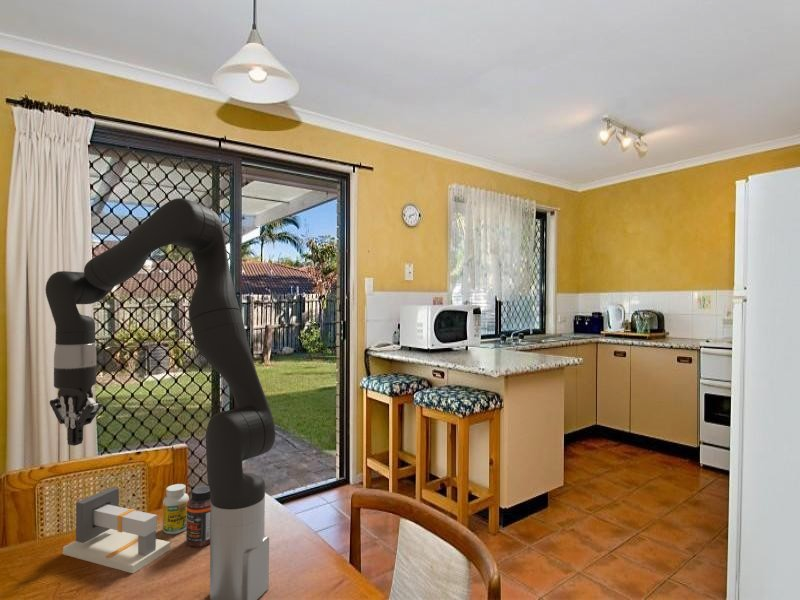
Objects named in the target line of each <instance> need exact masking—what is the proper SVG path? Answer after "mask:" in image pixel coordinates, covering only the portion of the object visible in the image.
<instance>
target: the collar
mask: <svg viewBox="0 0 800 600" xmlns="http://www.w3.org/2000/svg"><path fill="white" fill-rule="evenodd" d="M119 493H120V488H119V487H113V486H111V487H109V488H106V489H104V490H101V491H100V492H97V493H95V494H94V493H93V494H92V495H90V496H88V497H85V498H83V499H80V500H78V501H76V502H75V504H76V506H75V541H77V542H81V543H84V542H86V541H88V540H90V539H92V538H94V537H96V536H98V535H100V534H102V533H103V532H105V531H107V530H109V528H105V527H101V526H97V525H93V509H94V508H97V507H99V506H101V505H103V504H108V505H113V506H117V507H120V501H119V500H120V498H119V497H120V494H119Z"/></svg>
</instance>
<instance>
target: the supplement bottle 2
mask: <svg viewBox="0 0 800 600" xmlns="http://www.w3.org/2000/svg"><path fill="white" fill-rule="evenodd" d="M210 519H211V493H210V489H209V485H201V486H196V487H195V488H193V489H191V498H189V501H188V503H187V529H186V530H185V531H186V537H185V538H186V539H185V540H186V543H187V545H188V546H190V547H203V546H206V545H209V544H210Z"/></svg>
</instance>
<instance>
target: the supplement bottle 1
mask: <svg viewBox="0 0 800 600" xmlns="http://www.w3.org/2000/svg"><path fill="white" fill-rule="evenodd" d="M186 488H187V487H186V484H183V483H175V484H172V485H169V486H167V487H166V489H165V490H166V491H165V495H166V496H165V497H164V499H163V501H162V531H163V532H164V533H165V534H167V535H176V534H180V533H183V532H184V531H186V530H187V503H188V501H189V500H190V497H189V494H188V493H186V491H187V490H186Z"/></svg>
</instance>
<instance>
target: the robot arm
mask: <svg viewBox="0 0 800 600" xmlns="http://www.w3.org/2000/svg"><path fill="white" fill-rule="evenodd" d="M169 245H174V246H177V247H181V248H184V249H188V250H190V252H191V255H192V259H193V260H194V265H195V269H196V277H197V278H196V284H195V287H194V290H193V293H192V296H191V299H190V302H189V306H188V317H189V319H188V320H189V323H190V327H191V331H192V332H191V333H192V335H193V341H194V344H195V346H196V348H197V350H198V351H199V353H200V354H201V356H202V357H203V358H204V359H205V360H206V361H207V362H208V364H209V365H210V366H211V367H212V368H213V369H214V370H215V371H216V372H217V373H218V374H219V375H220V376H221V377H222V379H223V380H224V381H225V382H226V383H227V385H228V387H229V390H230V391H231V393H232V395H233V399H234V402H235V406H236V408H233V409H228V410H224V411H221V412H218V413H215V414H214V415H212V417H211V418H210V419H209V421H208V423H207V427H206V432H205V452H206V454H205V455H206V474H207V475H206V476H207V478H206V479H207V484H208V485H207V486H209V489H210V493H211V519H210V543H209V544H210V545H209V549H210V550H209V600H258V599H259V598H260V597H261V596H263V594H265V593H266V592H267V590H268V589H270V588H269V587H270V537H269V536H267V535H265V532H266V531H265V528H266V527H265V525H266V524H265V523H266V522H265V516H266V515H265V513H266V511H265V509H266V508H265V507H266V505H265V504H266V482H265V480H264V479H263V477H262V476H260V475H258V474H254V473H250V472H244V471H243V461H246V460H250V459H252V458H256V457H258V456H261V455H264V454H266V453H268V452H269V451H270V450H272V448H273V446H274V444H275V440H276V426H275V421H274V417H273V413H272V410H271V408H270V405H269V403H268V399H267V397H266V395H265V392H264V389H263V387H262V383H261V381H260V378H259V375H258V372H257V369H256V366H255V363H254V360H253V356H252V352H251V347H250V344H249V342H248V337H247V336H248V335H247V332H246V327H245V324H244V320H243V316H242V315H243V314H242V312H241V309H240V308H241V307H240V305H239V303H238V298H237V295H236V291H235V287H234V282H233V277H232V273H231V270H230V264H229V259H228V253H227V251H228V250H227V244H226V238H225V231H224V227H223V222H222V221H221V218H220V216H219V215H218V214H217V213H216V211H214V210H212V209H211V208H210V207H206V206H204V205H202V204H199V203H197V202H196V201H194V200H193V201H192V200H191V199H187V198H181V197H180V198H179V197H177V198H173V199H171V200H169V201H167V202H165V203H164V204H162V206H160V207H159V208H158V209H157V210H156V211H154V212H153V213H152V214H151V215H150V216H148V217H147V218H146V219H145V220H144V221H143V222H142V223H141V224H139V225H138V226H137V227H136V228H135V229H134V230H133V231H131V233H130V234H129V235H127V236H126V237H125V238H123V239H122V240H121V241H119V242H118V243H116V244H115V245H114V246H112V247H110V248H109V249H107V250H104V251H103V252H101V253H99V254H98V255H96V256H95V257H93V258H92V259H90V260H89V261H87V263H86V264H85V266H84V269H83V272H82V271H69V270H67V271H66V270H62V271H60V270H59V271H56V272H54V273H52V274H51V275H50V276H49V277H48V279H47V281H46V283H45V297H46V300H47V302H48V305H49V309H50V312H51V315H52V318H53V321H54V324H55V325H54V326H55V339H54V340H55V348H54V353H53V387H54V388H55V389H58V392H57V396H56V398H55V399H51V400H50V401H49V405H50V407H51V409H52V411H53V413H54V415H55V417H56V419H57V421H58V423H59V424H60V425H64V427H65V428H66V431H67V434H66V435H67V438H66V439H67V445H69V446H73V447H75V446H78V445H82V444H83V440H84V427H85V426H86V425H89V424H92V422H93V420H94V419H95V417H96V416H97V414H98V413H99V411H100V409H101V408H102V403H101V402H100V401H99V402H96V401H95V399H94V393H93V390H92V389H93V388H92V387H94V385H96V384H97V349H96V348H97V347H96V322H95V319H94V318H93V316H89V315H85V314H84V315H83V314H81V313H80V311H79V309H78V307H77V306H78V305H92V304H95V303H98V302H100V301H101V300H103V299H104V298H106V296H107V295H108V294H109V293H111V292H112V290H113V289H114V288H115V287H116V286H117V287H118V286H119V285H121V284H122V283H124V282H126V281H127V280H129V279H131V278H133V277H134V276H136V275H137V274H138V273H140V271H141V270H142V269H143V267H144V266H145V264H146V261H147V259H148V257H149V256H150V254H152V253H153V252H154V251H156V250H158V249H161V248H164V247H166V246H169Z"/></svg>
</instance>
